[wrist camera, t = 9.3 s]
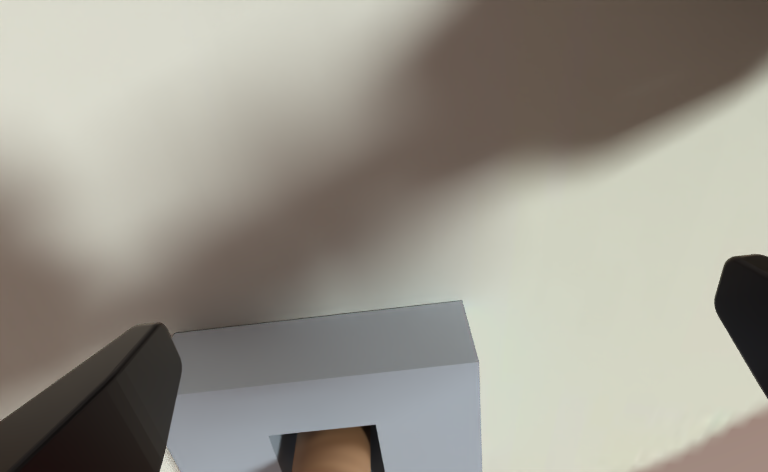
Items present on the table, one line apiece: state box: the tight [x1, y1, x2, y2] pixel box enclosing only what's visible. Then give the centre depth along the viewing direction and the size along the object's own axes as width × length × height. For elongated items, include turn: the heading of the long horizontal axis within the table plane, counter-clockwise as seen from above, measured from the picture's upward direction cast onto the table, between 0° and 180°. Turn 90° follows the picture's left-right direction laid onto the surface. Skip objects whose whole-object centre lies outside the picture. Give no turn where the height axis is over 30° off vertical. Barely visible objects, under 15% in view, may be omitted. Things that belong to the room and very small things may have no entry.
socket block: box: [166, 301, 482, 472], centre depth 24 cm, size 14×11×4 cm
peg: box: [292, 425, 371, 472], centre depth 22 cm, size 4×4×8 cm
